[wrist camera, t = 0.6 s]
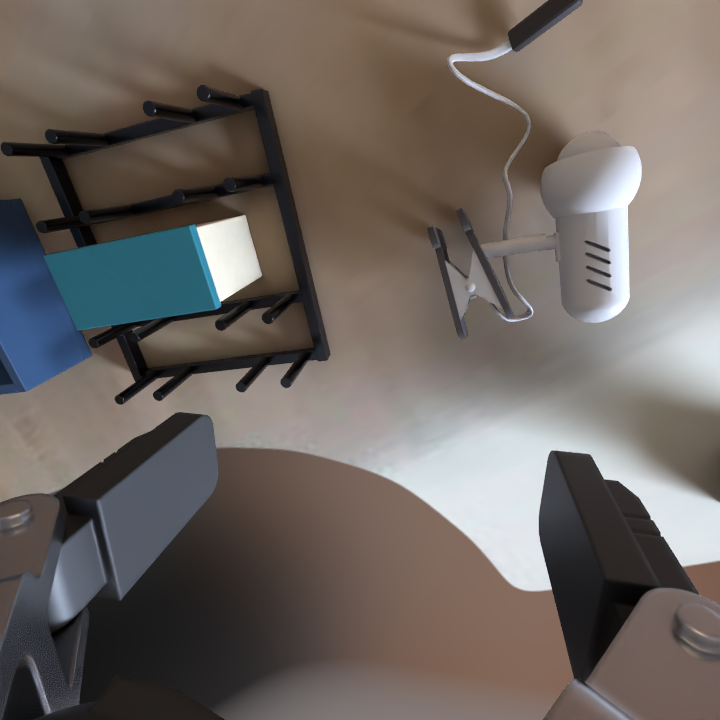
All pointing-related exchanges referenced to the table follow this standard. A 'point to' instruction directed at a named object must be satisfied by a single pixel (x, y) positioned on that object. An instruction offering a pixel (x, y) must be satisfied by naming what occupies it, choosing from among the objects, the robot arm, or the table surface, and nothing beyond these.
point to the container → (156, 273)
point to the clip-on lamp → (556, 211)
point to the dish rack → (167, 122)
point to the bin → (31, 309)
